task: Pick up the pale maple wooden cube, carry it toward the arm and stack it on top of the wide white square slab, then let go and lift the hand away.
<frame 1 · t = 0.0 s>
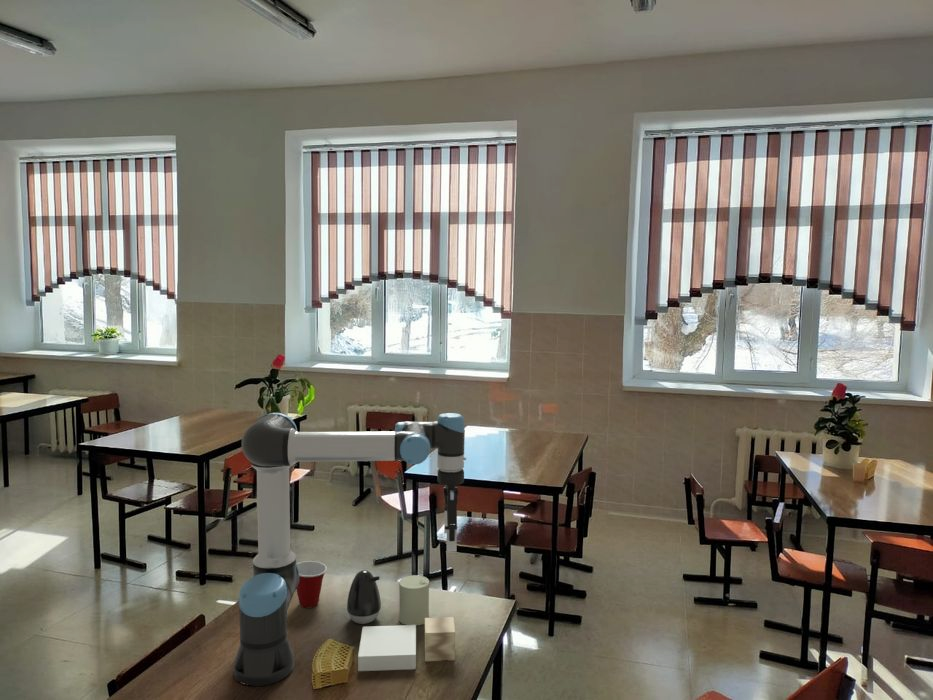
hand: (450, 541, 181), 28 cm above the table, tool pointing down, fingers open, 13 cm apart
plastic cup: (309, 604, 202), on the table
white square slab: (388, 654, 174), on the table
pump dispenser: (364, 620, 192), on the table
maple cube: (439, 652, 175), on the table
can: (414, 618, 193), on the table
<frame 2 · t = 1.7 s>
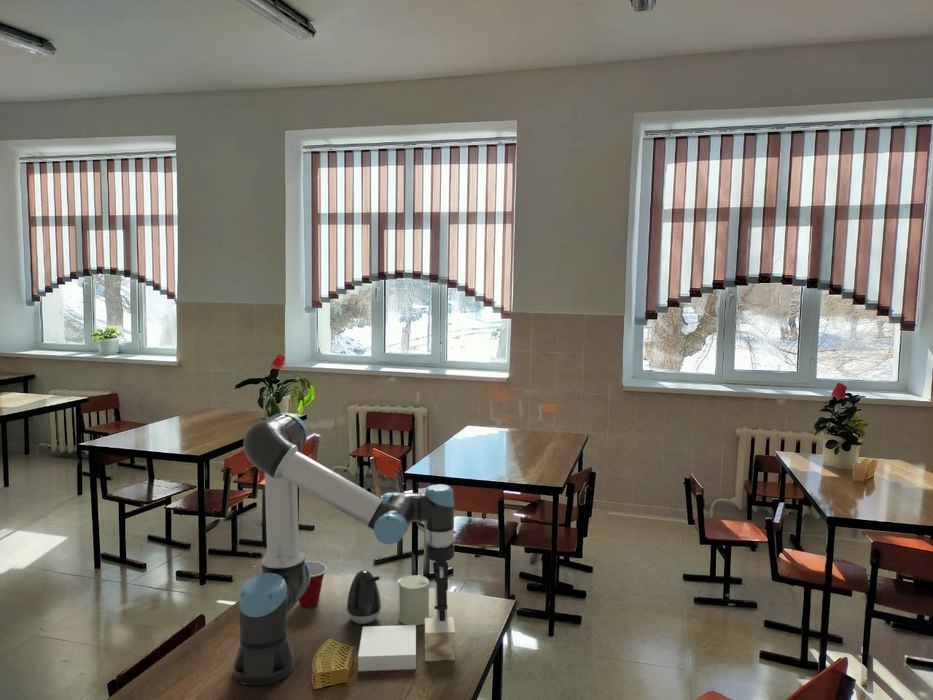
hand: (441, 618, 174), 10 cm above the table, tool pointing down, fingers open, 13 cm apart
nothing on the table moved.
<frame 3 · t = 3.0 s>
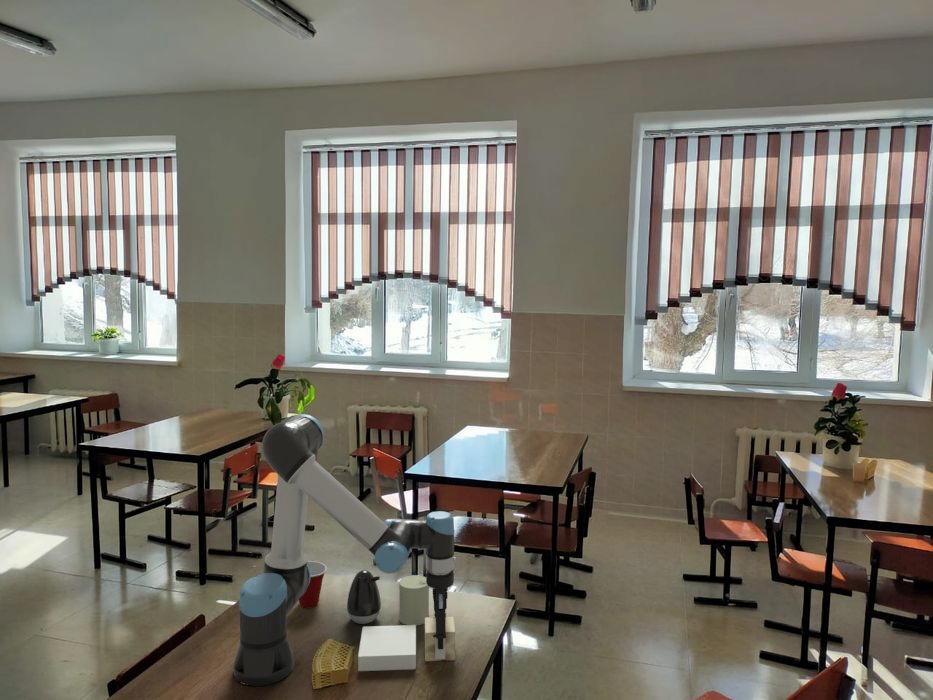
hand: (439, 649, 175), 1 cm above the table, tool pointing down, fingers closed on maple cube, 8 cm apart
maple cube: (439, 652, 175), on the table, touching gripper
everything else where it was.
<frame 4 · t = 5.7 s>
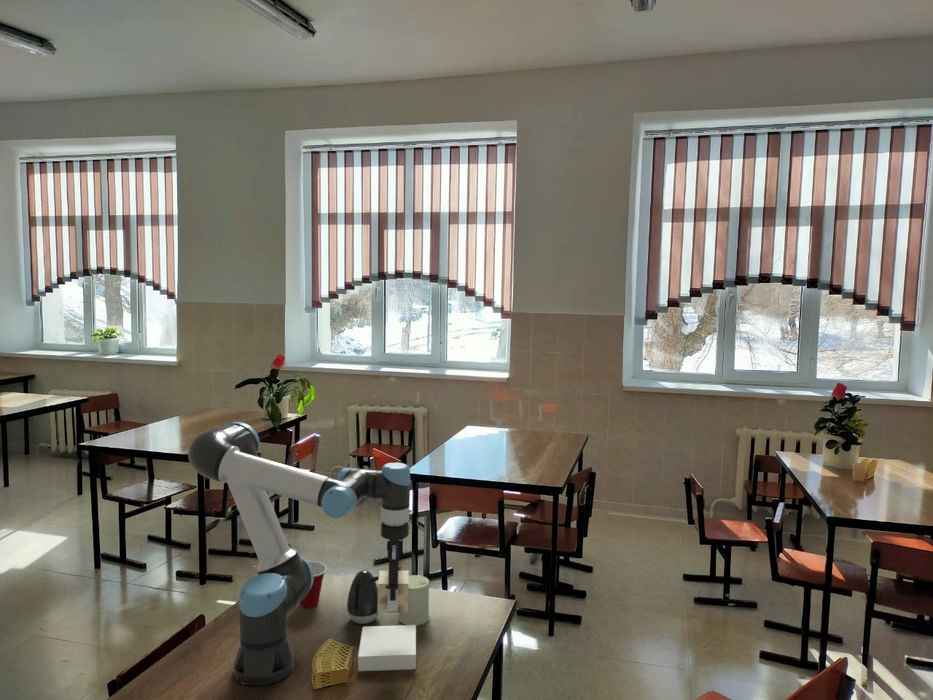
hand: (392, 602, 173), 15 cm above the table, tool pointing down, fingers closed on maple cube, 8 cm apart
maple cube: (392, 605, 173), point 14 cm above the table, touching gripper
everything else where it was.
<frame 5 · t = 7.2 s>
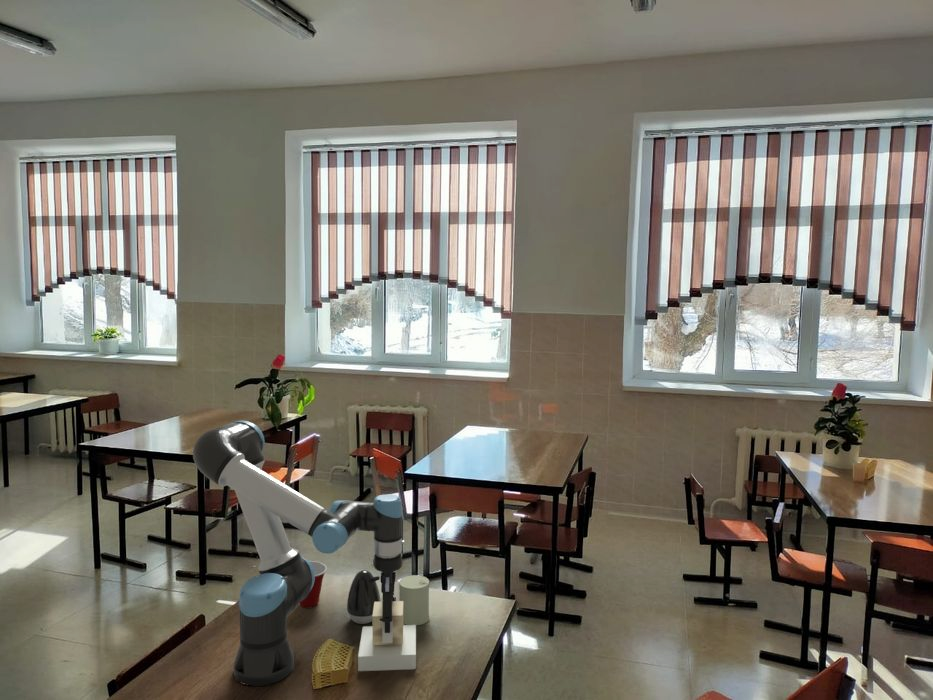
hand: (388, 633, 173), 6 cm above the table, tool pointing down, fingers closed on maple cube, 8 cm apart
maple cube: (388, 636, 173), point 5 cm above the table, touching gripper
everything else where it was.
when the fingers open (6 cm above the table, at t = 8.3 s): maple cube stays where it is, resting on white square slab.
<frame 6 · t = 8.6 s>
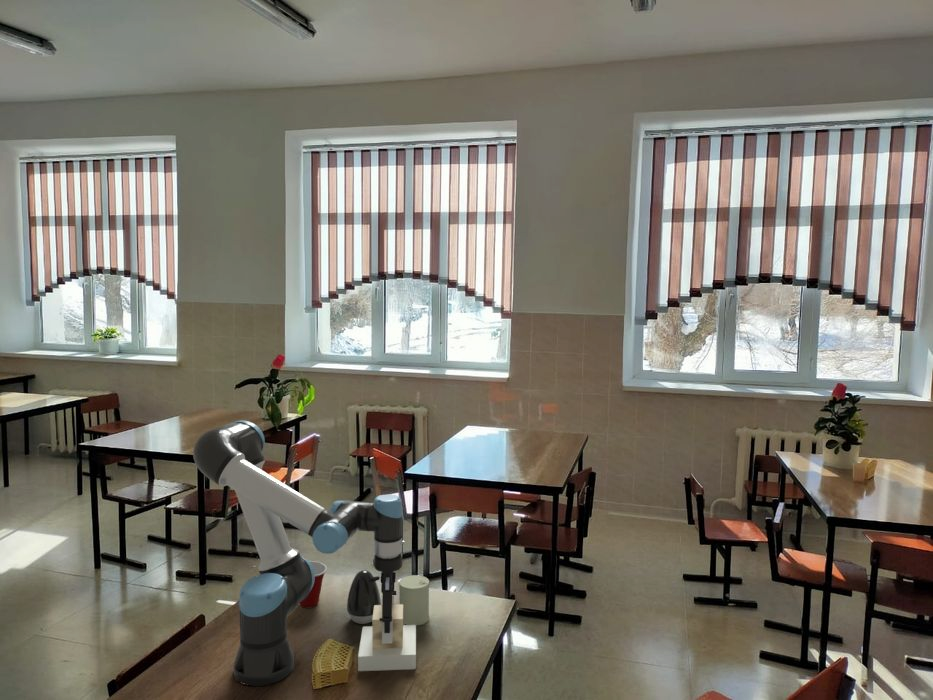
hand: (388, 630, 173), 7 cm above the table, tool pointing down, fingers open, 11 cm apart
maple cube: (388, 640, 173), point 4 cm above the table, touching white square slab
everything else where it was.
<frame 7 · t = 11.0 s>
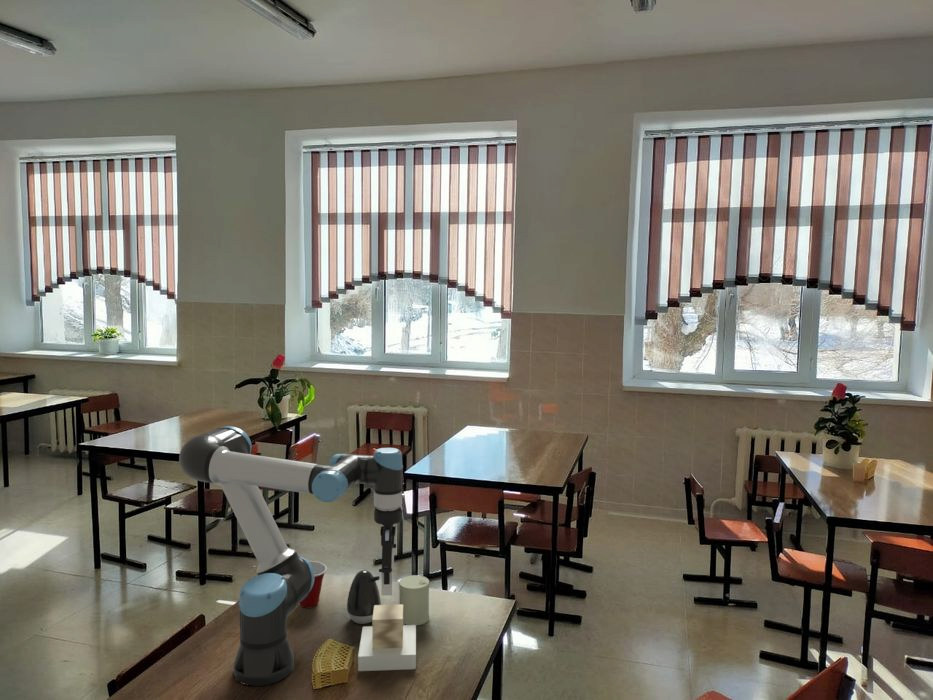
hand: (387, 582, 172), 20 cm above the table, tool pointing down, fingers open, 13 cm apart
nothing on the table moved.
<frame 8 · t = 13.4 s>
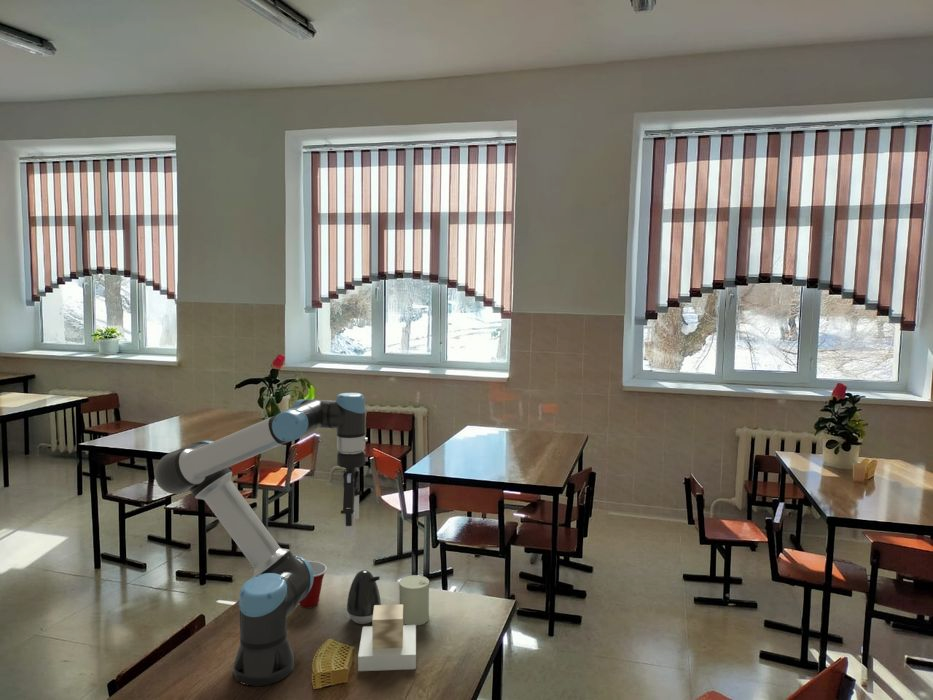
hand: (351, 527, 173), 35 cm above the table, tool pointing down, fingers open, 13 cm apart
nothing on the table moved.
at the end: maple cube inside the target area on the white square slab (0.0 cm from its centre), point 4.0 cm above the white square slab's base; maple cube tilted 0°; the gripper is holding nothing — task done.
